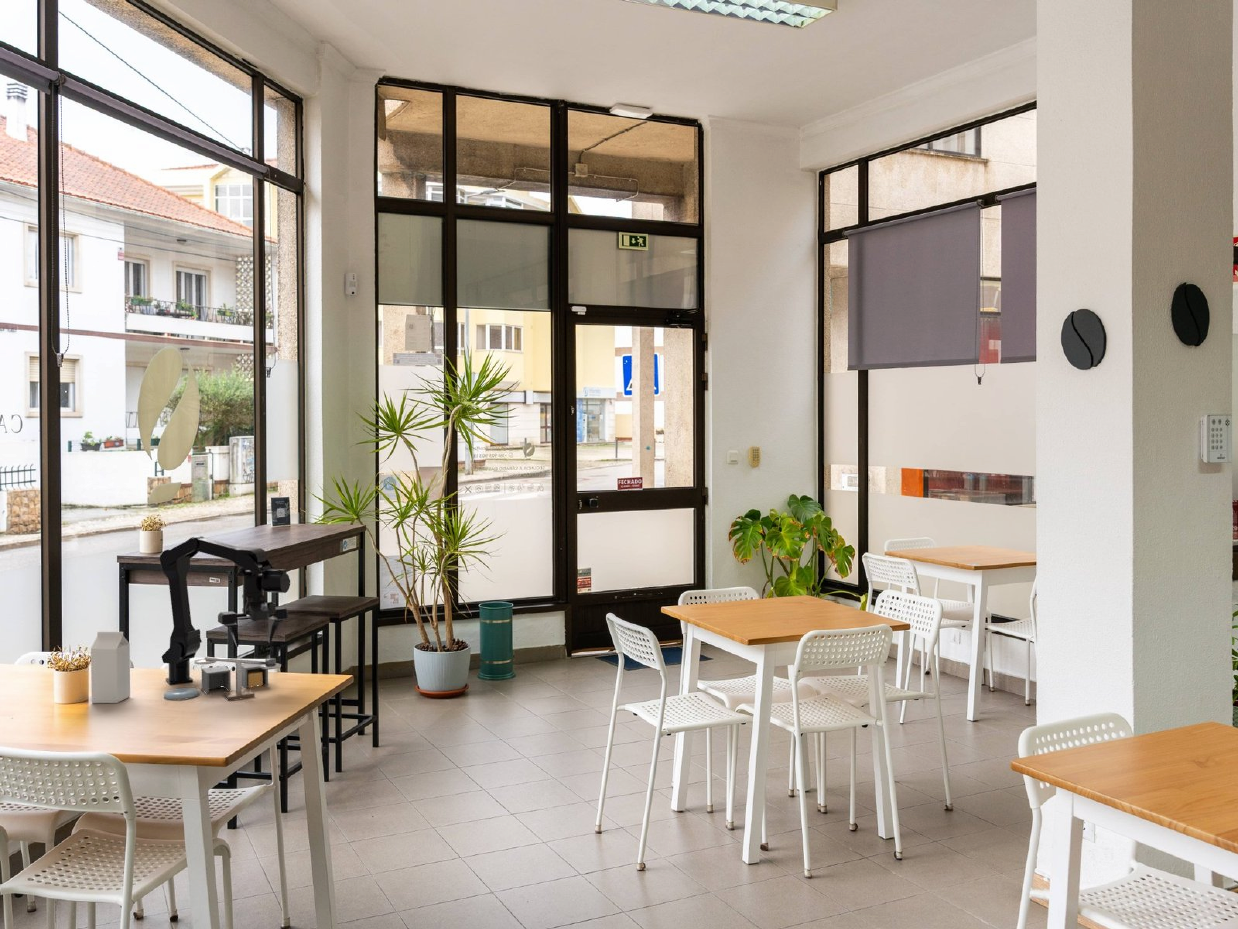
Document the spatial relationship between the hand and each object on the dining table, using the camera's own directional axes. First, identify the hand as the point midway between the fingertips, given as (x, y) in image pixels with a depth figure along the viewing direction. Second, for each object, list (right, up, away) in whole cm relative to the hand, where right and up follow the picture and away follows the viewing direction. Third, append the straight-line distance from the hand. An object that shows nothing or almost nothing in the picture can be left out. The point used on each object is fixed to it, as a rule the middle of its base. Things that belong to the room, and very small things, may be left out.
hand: (253, 644), depth 293 cm
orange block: (0, -12, 0) cm, 12 cm away
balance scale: (0, -12, -13) cm, 18 cm away
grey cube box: (-9, -12, -6) cm, 16 cm away
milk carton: (-33, -13, -17) cm, 39 cm away
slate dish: (-16, -12, -12) cm, 23 cm away
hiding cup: (0, -12, 0) cm, 12 cm away
